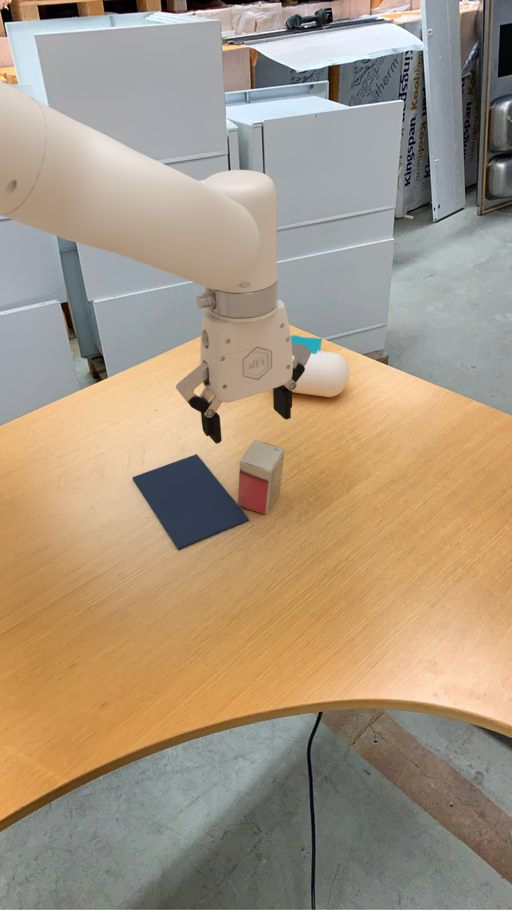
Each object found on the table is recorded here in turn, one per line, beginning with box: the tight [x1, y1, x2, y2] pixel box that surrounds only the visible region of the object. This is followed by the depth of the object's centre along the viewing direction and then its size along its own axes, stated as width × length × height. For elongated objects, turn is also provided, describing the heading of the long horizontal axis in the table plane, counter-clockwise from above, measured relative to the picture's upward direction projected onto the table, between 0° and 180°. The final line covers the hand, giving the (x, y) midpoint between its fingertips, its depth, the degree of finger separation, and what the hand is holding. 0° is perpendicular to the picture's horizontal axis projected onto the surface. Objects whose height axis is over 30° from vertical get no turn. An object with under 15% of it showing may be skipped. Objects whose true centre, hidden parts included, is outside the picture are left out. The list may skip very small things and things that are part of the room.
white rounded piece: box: [291, 334, 350, 398], centre depth 108 cm, size 12×9×12 cm
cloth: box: [132, 453, 250, 551], centre depth 88 cm, size 10×16×1 cm, turn 29°
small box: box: [237, 439, 285, 515], centre depth 85 cm, size 5×4×8 cm
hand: (248, 425), depth 81 cm, fingers open, 9 cm apart
